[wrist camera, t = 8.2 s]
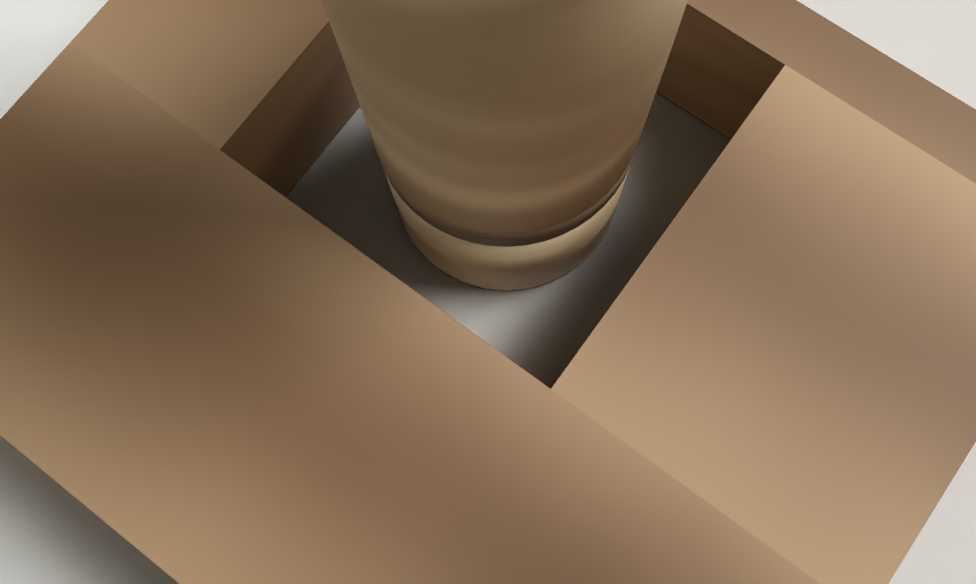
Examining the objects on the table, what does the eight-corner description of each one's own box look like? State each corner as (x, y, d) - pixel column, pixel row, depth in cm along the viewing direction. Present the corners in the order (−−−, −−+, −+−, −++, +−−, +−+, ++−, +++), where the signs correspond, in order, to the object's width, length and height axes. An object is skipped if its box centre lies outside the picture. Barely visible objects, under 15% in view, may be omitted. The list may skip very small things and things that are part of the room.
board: (619, 876, 14) (648, 971, 11) (-42, 338, 16) (-165, 299, 13) (1012, 257, 16) (1124, 200, 13) (379, -144, 18) (353, -270, 15)
